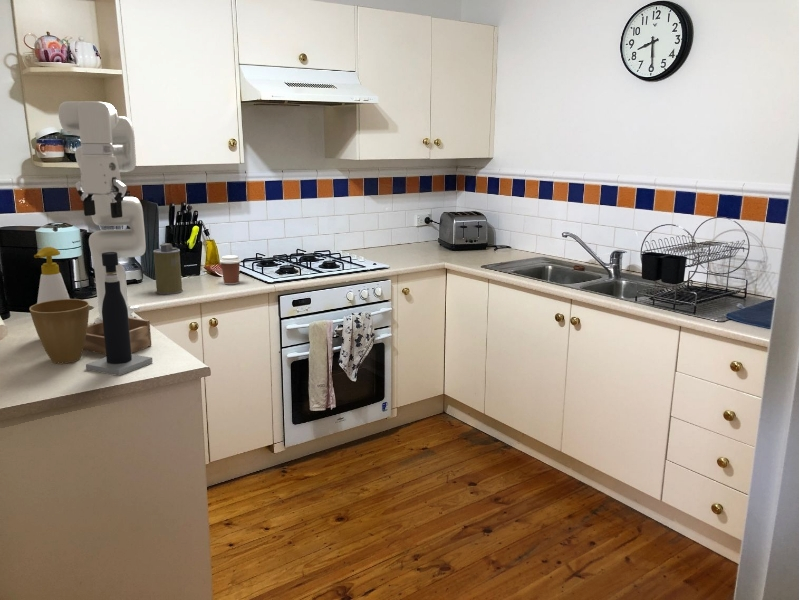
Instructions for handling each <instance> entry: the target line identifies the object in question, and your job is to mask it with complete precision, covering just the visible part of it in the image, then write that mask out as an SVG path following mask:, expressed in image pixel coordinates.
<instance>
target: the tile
mask: <svg viewBox="0 0 800 600" xmlns="http://www.w3.org/2000/svg"><path fill="white" fill-rule="evenodd" d="M131 354H132V360H131V361H129V362H126V363H122V364H109V363H107V359H106V356H105V357H103V358H99V359H97V360H93V361H91V362H87V363H85V370H88V371H93V372H98V373H102V372H103V373H104V374H107V373H108V375H112V374H113V375H114V376H123V375H125V374H127V372H128V373H130V372H133V371H134V370H135V371H136V370H137V368H138V369H140V368H142V366H143V367H146V366H148V365H151V364H153V363H154V362H153V357H150V356H145V355H139V354H134V353H131ZM152 362H153V363H152ZM150 363H151V364H150ZM147 364H148V365H147ZM103 373H102V374H103Z"/></svg>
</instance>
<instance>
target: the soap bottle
mask: <svg viewBox="0 0 800 600" xmlns="http://www.w3.org/2000/svg"><path fill="white" fill-rule="evenodd" d="M59 255H61V251H59V250H58V249H57V248H55V247H52V246H45V247H42V248H41V249H39V250H38V251H37V253H36V254H34V255H33V257H34V258H35V259H37V258H38V259H39V258H40V259H42V258H46V262H44V263H42V265H41V274H40V279H39V285H38V287H39V288H38V292H37V293H38V294H37V300H36V301H37V302H36V304H38V303H42V302H46V301H52V300H60V299H71V298H70V294H69V293H68V290H67V287H66V284H65V282H64V279H63V276H62V273H61V272H60V267H59V264H57V262H53V259H52V257H55V256H59Z"/></svg>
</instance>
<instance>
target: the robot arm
mask: <svg viewBox="0 0 800 600" xmlns="http://www.w3.org/2000/svg"><path fill="white" fill-rule="evenodd" d="M58 119H59V123H60V126H61V128H62V130H63V131H64V132H65V133H66V134H68V135H72V136H77V137H79V138H80V146H77V148H76V149H75V152H74V157H75V159H76V163H77V165H78V167H79V169H80V180H78V181H77V182H76V183H74V185H75V188H76V190H77V194H78V196H79V197H80V201H82V203H83V206H82V207H83V214H84V215H83V216H85V217H88V216H89V217H90V216H91V220H92V222H93V224H95V225H96V226H100V227H112V226H113V227H118V226H119V227H120V226H122V227H123V226H128V227H129V228H124V229H117V228H116V229H100V230H96V231H94V232H92V233H91V234H90V235H89V238H88V246H89V249H90V252H91V253H90V254H91V257H92V261H93V268H94V276H95V277H94V278H95V288H96V298H97V309H98V317H95V318H94V324H96V323H99V322H103V318H102V305H103V299H104V296H105V281H106V280H105V279H106V278H105V275H106V274H107V273H106V266H103V263H102V253H105V252H117V254H118V259H120V258H121V259H122V258H136V257H137V258H139V257H142V256H143V255H145V253H146V248H147V246H146V232H145V221H144V211H143V210H144V209H143V206H142V203H141V201H140V200H139V198H137V197H134V196H126V193H127V190H128V186H127V185H126V184H125V183H123V182H122V177H121V173H129V172H132V171H134V170H135V168H136V166H137V165H136V164H137V157H136V156H137V154H136V140H135V131H134V126H133V124H132V121H131V120H130V119H129V117H128V118H127V117H126V116H122V115H121V116H120V115H119V116H118V112H117V109H115V107H114V105H112V104H111V103H109V102H103V101H91V100H90V101H89V100H87V101H74V100H73V101H71V100H70V101H63V102H62V103H60V105H59V108H58ZM116 271H117V272H116V273H112V274H118V278H119V279H118V281H120V290H121V293H122V295H123V297H124V299H125V302H126V305H127V309H128V317H130V318H135V315H133V312H138V311H139V310H140V306H139V305H133V306H131V305H129V298H128V297H129V296H128V287H127V286H128V285H127V274H126V269H125V267H124V266H123V265H122V264H121V263H120V262H119V261H118V265H116Z"/></svg>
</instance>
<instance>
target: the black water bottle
mask: <svg viewBox="0 0 800 600" xmlns="http://www.w3.org/2000/svg"><path fill="white" fill-rule="evenodd" d="M118 262H119V258H118V254H117V252H105V253H102V263H103V266H106V273H107V274H106V275H105V278H106V279H105V280H106V281H105V296H104V299H103V305H102V318H103V328H104V338H105V349H106V354H105V357H106V359H107V363H109V364H122V363H126V362H129V361H131V360H132V354H133V353H131V343H130V332H129V320H128V309H127V305H126V302H125V299H124V297H123V295H122V293H121V290H120V281H118V279H119V278H118V274H112V273H116V272H117V271H116V265H118Z"/></svg>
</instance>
